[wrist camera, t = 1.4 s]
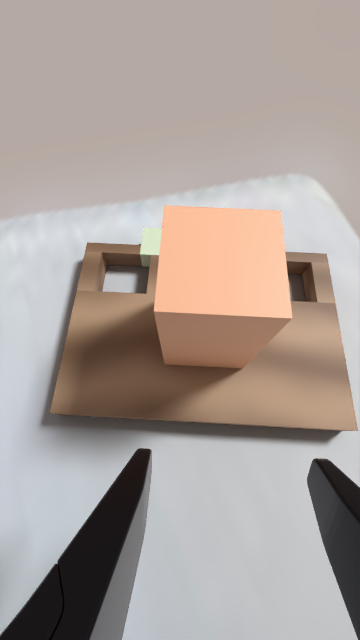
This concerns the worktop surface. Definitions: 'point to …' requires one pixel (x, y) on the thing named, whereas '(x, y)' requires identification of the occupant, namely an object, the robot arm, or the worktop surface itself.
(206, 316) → the terracotta block
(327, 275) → the walnut board
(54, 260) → the worktop surface
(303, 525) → the worktop surface
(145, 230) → the green end pad
